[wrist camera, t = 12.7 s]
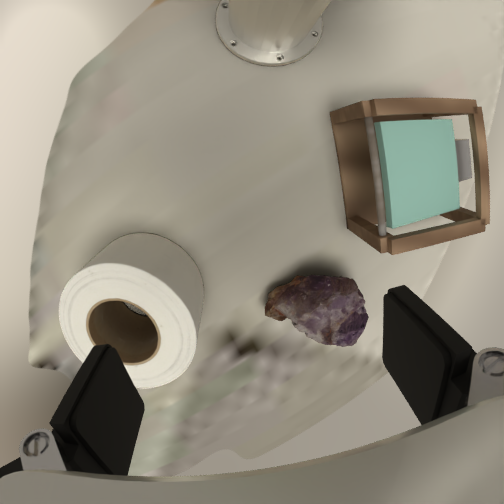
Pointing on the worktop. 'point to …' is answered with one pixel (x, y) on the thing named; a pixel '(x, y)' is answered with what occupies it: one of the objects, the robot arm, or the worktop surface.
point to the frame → (370, 177)
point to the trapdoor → (417, 169)
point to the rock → (321, 308)
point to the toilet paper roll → (143, 297)
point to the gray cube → (463, 159)
